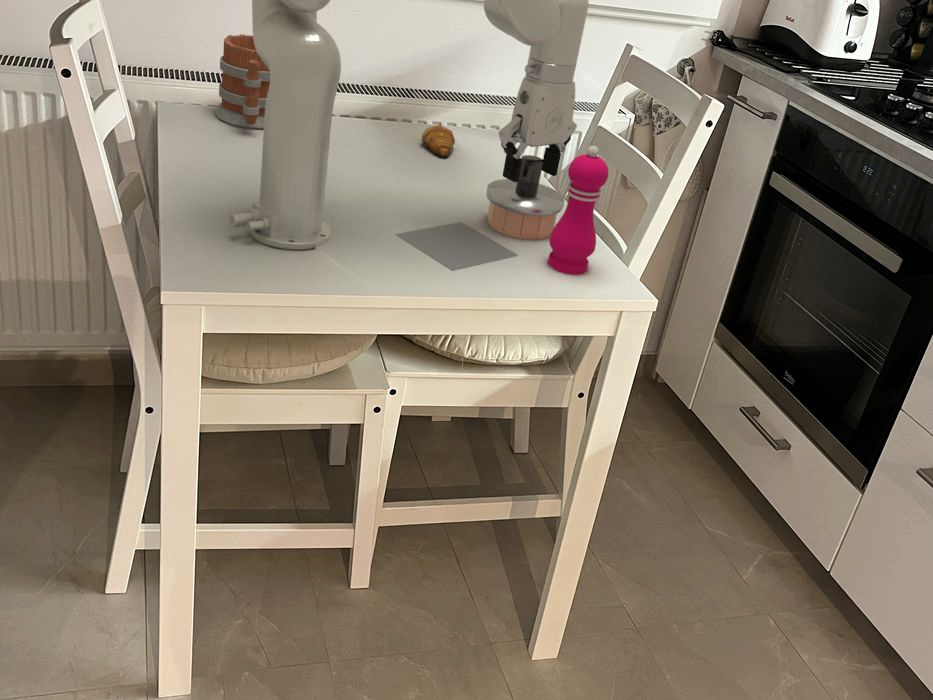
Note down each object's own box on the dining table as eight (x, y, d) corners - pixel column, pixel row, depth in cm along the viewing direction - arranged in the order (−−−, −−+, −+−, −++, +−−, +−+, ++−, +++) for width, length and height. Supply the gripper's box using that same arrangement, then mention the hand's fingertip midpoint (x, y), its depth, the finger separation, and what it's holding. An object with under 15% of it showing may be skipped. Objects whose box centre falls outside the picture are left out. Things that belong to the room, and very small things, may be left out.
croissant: (460, 162, 195) (464, 137, 193) (427, 159, 194) (430, 134, 191) (445, 139, 207) (449, 115, 204) (413, 136, 205) (417, 113, 202)
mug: (288, 111, 205) (293, 37, 198) (287, 142, 189) (293, 62, 181) (218, 104, 202) (220, 28, 195) (211, 134, 186) (213, 53, 179)
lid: (523, 220, 159) (532, 177, 155) (470, 190, 167) (477, 149, 163) (578, 209, 167) (588, 168, 163) (525, 182, 175) (533, 142, 171)
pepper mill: (561, 254, 162) (587, 135, 152) (598, 271, 158) (627, 150, 149) (535, 264, 157) (560, 141, 147) (572, 282, 153) (601, 157, 144)
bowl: (518, 245, 162) (524, 217, 160) (474, 220, 169) (479, 192, 167) (564, 235, 169) (570, 208, 167) (520, 211, 176) (525, 184, 174)
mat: (451, 272, 149) (452, 270, 149) (394, 236, 158) (395, 234, 158) (518, 257, 158) (518, 255, 158) (460, 224, 167) (461, 221, 166)
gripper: (527, 80, 149) (507, 190, 157) (604, 75, 160) (581, 178, 168) (494, 66, 153) (476, 174, 162) (570, 62, 164) (550, 163, 173)
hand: (529, 175), depth 165 cm, fingers open, 8 cm apart
